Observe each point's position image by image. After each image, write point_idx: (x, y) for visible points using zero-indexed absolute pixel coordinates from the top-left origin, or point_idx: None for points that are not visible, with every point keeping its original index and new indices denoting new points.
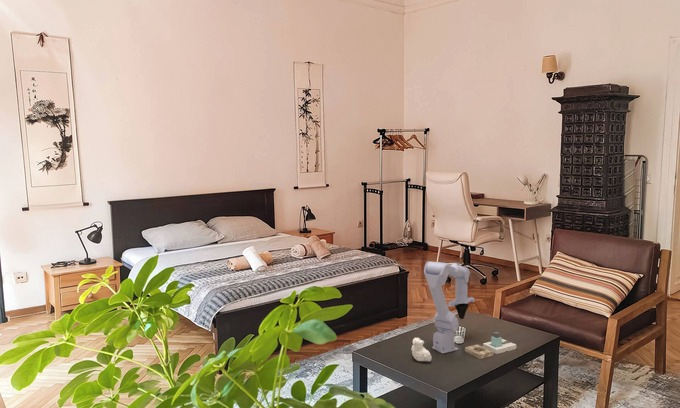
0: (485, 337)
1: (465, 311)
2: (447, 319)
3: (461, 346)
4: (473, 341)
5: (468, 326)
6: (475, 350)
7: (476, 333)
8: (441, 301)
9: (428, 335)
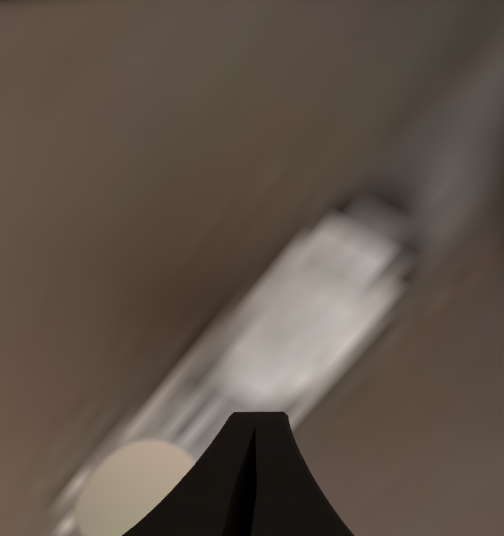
0: (21, 224)
1: (176, 506)
2: None
3: (417, 132)
4: (203, 192)
5: (14, 516)
6: None
7: (44, 352)
8: None
9: (492, 526)
